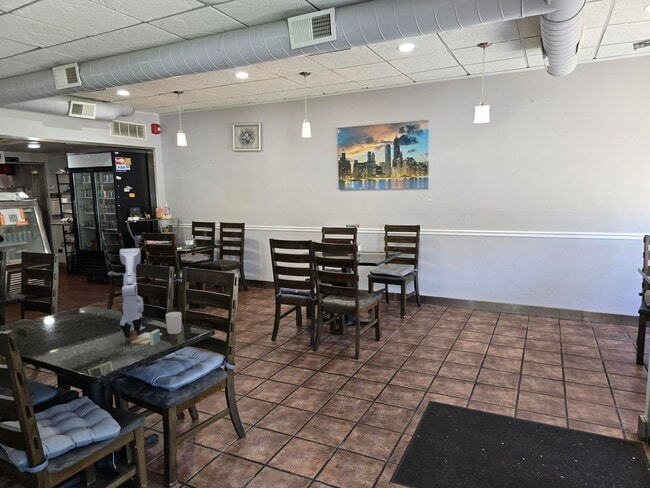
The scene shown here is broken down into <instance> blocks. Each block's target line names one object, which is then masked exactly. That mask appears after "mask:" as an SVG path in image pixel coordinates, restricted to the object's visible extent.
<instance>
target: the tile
mask: <svg viewBox="0 0 650 488" xmlns="http://www.w3.org/2000/svg"><path fill="white" fill-rule="evenodd" d="M160 331H161V330H160V329H155V330H152V331H151V332H149V333H150V342H149V345H150V346H155V345H157V344H158V343H160V342H161V335H160V333H161V332H160Z"/></svg>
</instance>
